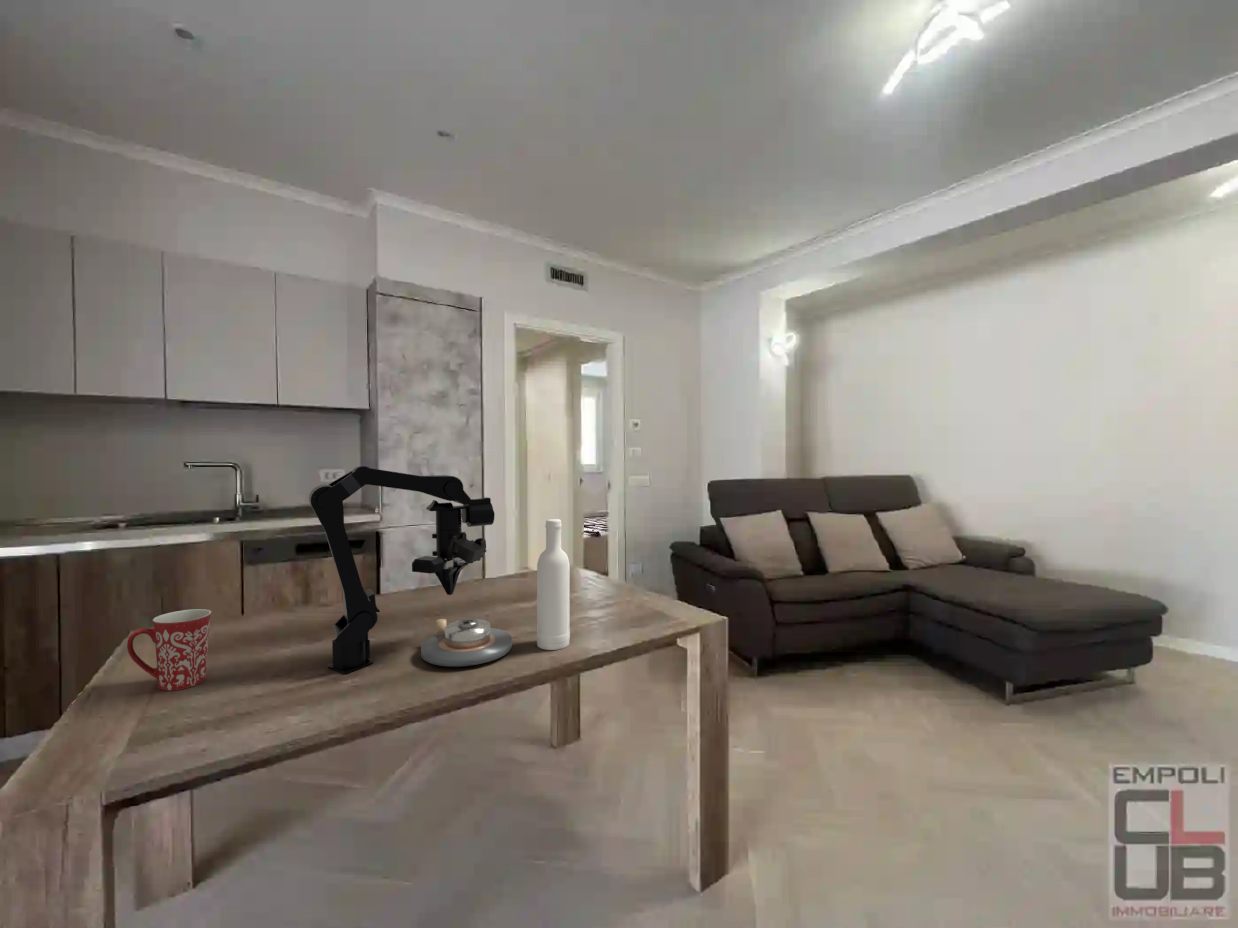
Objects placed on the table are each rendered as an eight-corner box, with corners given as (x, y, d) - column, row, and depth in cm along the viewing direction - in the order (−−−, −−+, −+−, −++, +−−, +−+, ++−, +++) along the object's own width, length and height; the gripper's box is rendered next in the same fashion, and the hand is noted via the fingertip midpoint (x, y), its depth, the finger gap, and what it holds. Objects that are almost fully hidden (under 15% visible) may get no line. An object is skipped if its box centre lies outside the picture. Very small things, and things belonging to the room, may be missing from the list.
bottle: (566, 636, 130) (566, 517, 130) (573, 648, 123) (573, 521, 122) (534, 640, 128) (534, 518, 127) (539, 652, 120) (539, 522, 120)
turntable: (466, 673, 106) (466, 648, 106) (401, 654, 116) (401, 631, 116) (529, 642, 124) (529, 621, 124) (467, 628, 134) (467, 608, 134)
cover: (467, 652, 113) (467, 631, 113) (435, 643, 118) (435, 623, 118) (499, 638, 122) (499, 618, 122) (468, 630, 127) (468, 612, 127)
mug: (214, 669, 110) (213, 605, 110) (209, 685, 102) (208, 617, 102) (134, 683, 103) (133, 615, 103) (122, 702, 96) (120, 629, 95)
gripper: (450, 537, 111) (451, 609, 112) (500, 524, 129) (501, 587, 129) (409, 534, 115) (410, 604, 116) (463, 522, 133) (464, 583, 133)
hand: (450, 594), depth 123 cm, fingers closed
